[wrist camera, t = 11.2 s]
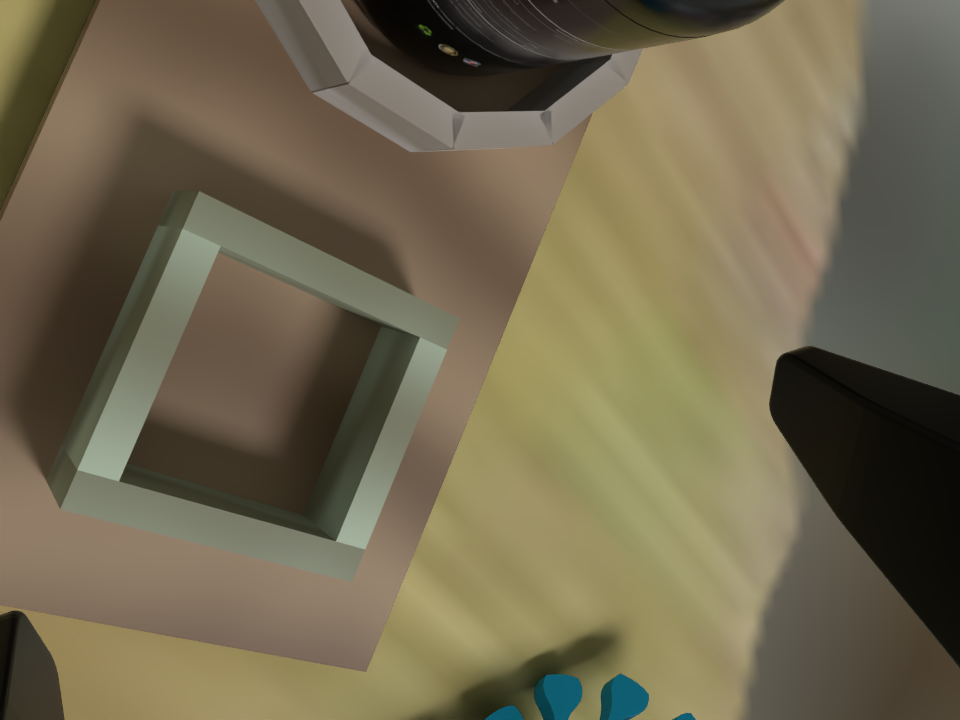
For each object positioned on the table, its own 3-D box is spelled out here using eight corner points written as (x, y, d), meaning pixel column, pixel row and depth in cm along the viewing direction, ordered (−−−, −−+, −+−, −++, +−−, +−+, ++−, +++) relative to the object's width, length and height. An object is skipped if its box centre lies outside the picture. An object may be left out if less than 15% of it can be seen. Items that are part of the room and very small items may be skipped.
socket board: (350, 655, 24) (401, 708, 22) (-158, 557, 17) (-168, 618, 15) (666, -122, 26) (748, -156, 23) (315, -484, 19) (376, -585, 17)
